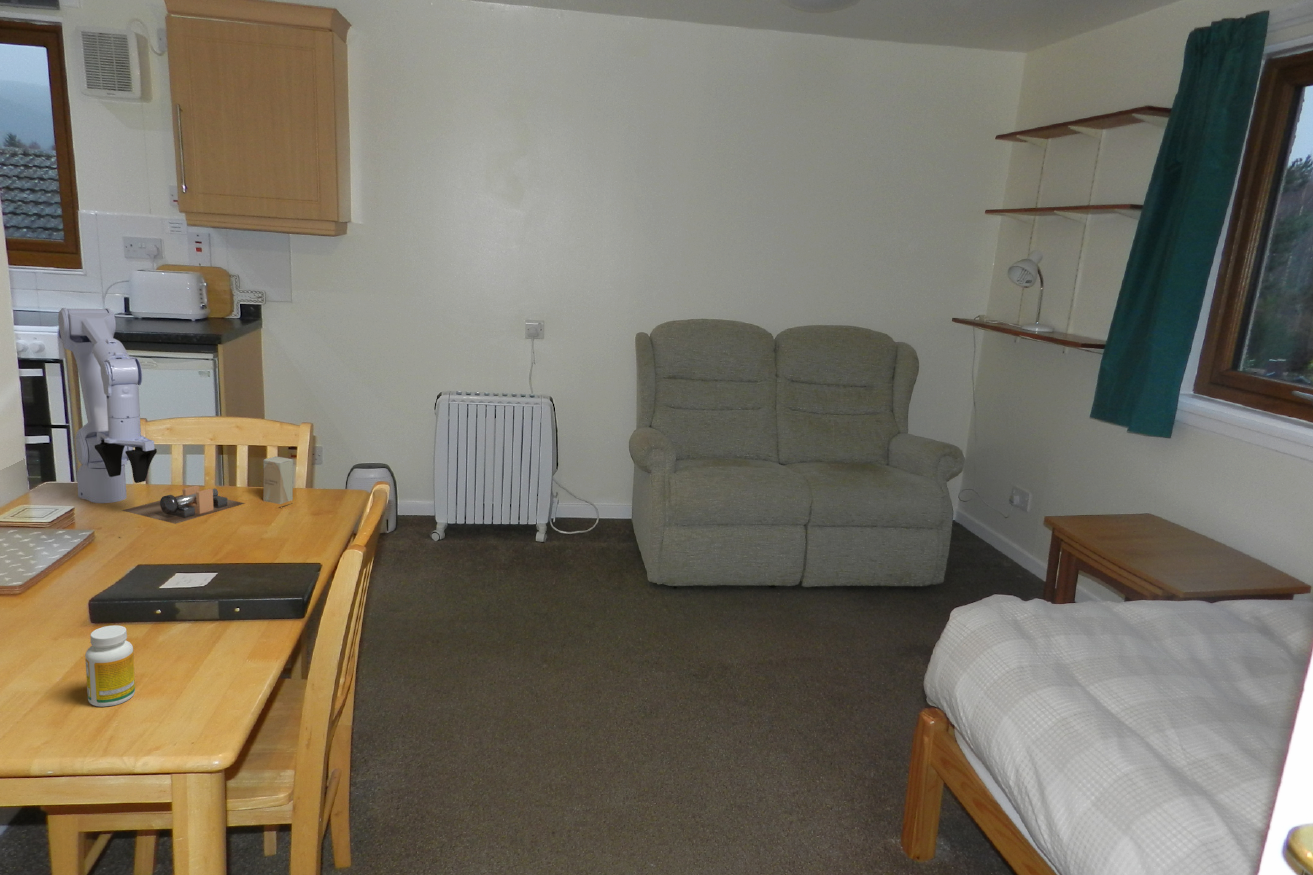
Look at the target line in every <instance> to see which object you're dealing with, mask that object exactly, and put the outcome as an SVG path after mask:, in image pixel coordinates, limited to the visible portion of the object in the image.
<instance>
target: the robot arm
mask: <svg viewBox="0 0 1313 875" xmlns="http://www.w3.org/2000/svg"><path fill="white" fill-rule="evenodd" d="M57 319H58V321H57V323H58V328H59V334H60V339H61V343H62V345H63V349H66V350H68V351H70V352H72V355H73V356H74V360H75V362H76V366H77V372H78V376H79V377H78V378H79V383H80V388H81V394H82V399H83V405H84V409H85V415H86V419H87V423H85V424H84V425H83V426H82V427H80V428H79V429H78V430H77V432H76V434H75V453H76V457H77V460H78V462H79V463H80V464H81V465H80V467H79V468H78V470H77V471H76V472H77V473H76V481H77V493H78V494H77V497H78V498H80V499H83V500H86V501H88V502H90V503H94V504H110V503H116V502H121V501H124V500H126V499H127V498H128V497H127V483H126V482H127V481H126V465H128V461H129V464H130V467H131V472H132V479H133V481H134V483H135V484H138V483H144V482H147V477H148V473H149V470H150V466H151V463H152V461H153V459H154V457H155V456H156V454H157V453H158V449H156V448H155V441H154V440H152V439H149V438H147V437H145V436H143V435H142V429H141V412H140V409H141V408H140V394H139V386H141V385H142V382H143V369H142V364H141V361H140V360H139V358H138V357H134V356H130V354H129V353H128V351H127V349H126V348H125V346H124V344H123V343H122V342H121V341H120V340H118V339H116V338H114V336H115V333H116V329H117V327H116V324H117V323H116V316H115V314H114V312H113V310H111V309H110V308H107V307H106V308H105V309H104V308H66V307H62V308H60V310H58V316H57Z"/></svg>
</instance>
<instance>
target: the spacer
mask: <svg viewBox="0 0 1313 875" xmlns="http://www.w3.org/2000/svg"><path fill="white" fill-rule="evenodd" d="M213 489H214V488H207V489H203V490H200V486H199V485H193V486H189V487H185V488H182V495H183V496H187V495H191V494H195V493H196V502H193V503H189V504H185V505H189V506H193V507H195V513H199V514H201V513H204V512H208V511H211V510H213Z"/></svg>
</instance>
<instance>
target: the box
mask: <svg viewBox="0 0 1313 875" xmlns="http://www.w3.org/2000/svg"><path fill="white" fill-rule="evenodd" d="M293 475H294V459H291V458H287V457H282V456H272V457H268V458H265V459H263V487H262V488H263V496H262V497H263V498H262V500H263V502H266V503H271V504H278V505H281V504H285V503H288V502H291V501H294V500H293V499H294V498H293V496H294V494H293V492H294V491H293V489H294V485H293V483H294V482H293V481H294V479H293V478H294V476H293ZM290 505H293V502H292V503H288V504H285V505H282V506H279V507H278V508H279V509H281V507H282V508H285V507H288V506H290Z"/></svg>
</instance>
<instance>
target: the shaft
mask: <svg viewBox="0 0 1313 875" xmlns="http://www.w3.org/2000/svg"><path fill="white" fill-rule="evenodd" d="M212 489H213V497H215V496H219V491H218V489H217V488H212ZM175 497H176V496H174V495H173V494H168V495H167V494H166V495H164V496H161V497H160V500H159V501H160V506H161V509H162V511H163V512H164V513H166V514H172V513H175V512H177V510H178V507H179V506H182V505H185V504H189V503H193V502H196V493H195V494H191V495H187V496H183V497H180V498H175Z"/></svg>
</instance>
